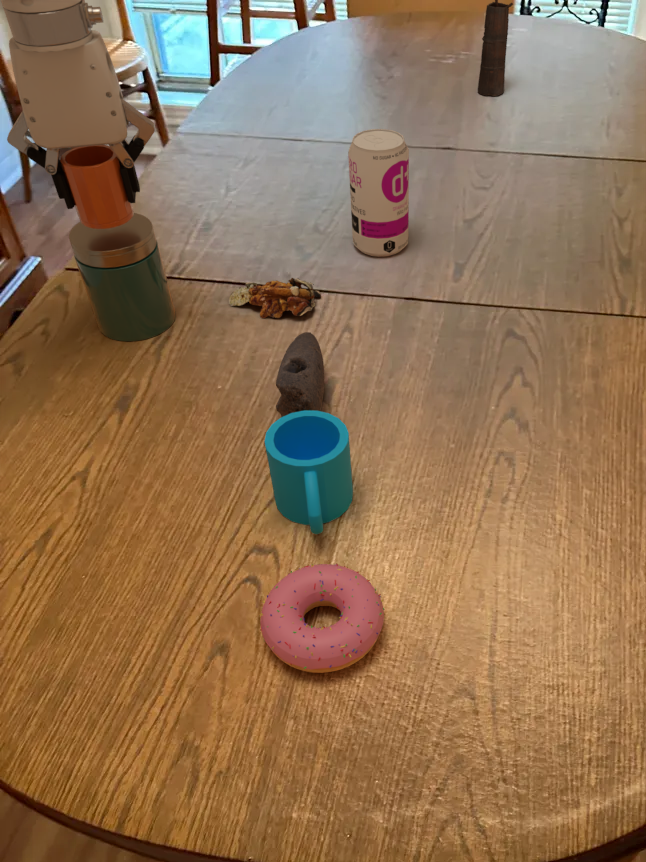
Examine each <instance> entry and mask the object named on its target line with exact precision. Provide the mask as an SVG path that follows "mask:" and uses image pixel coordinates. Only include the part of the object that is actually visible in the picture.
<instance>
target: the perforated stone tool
mask: <svg viewBox="0 0 646 862" xmlns="http://www.w3.org/2000/svg"><path fill="white" fill-rule="evenodd" d="M275 386H276V388H277V390H278V391H279V394H280V397H279V399H278V401H277V403H276V405H275V409H276V411H277V412H278V413H279V414H280V416H281V417H283V416H286V415H288V414H290V413H294V412H299V411H304V410H310V411H321V412H322V406H323V400H324V393H325V364H324V357H323V353H322V350H321V346H320V343H319V341H318V339H317V337H316V336H315V335H314V334H313V333H312V332H309V331H305V332H301V333H300V334H298V335H297V336H295V338H294V340H292V341H291V343H290V344H289V345H288V347H287V349H286V351H285V353H284V355H283V356H282V359H281V362H280V364H279V367H278V371H277V376H276V380H275Z"/></svg>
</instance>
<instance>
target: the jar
mask: <svg viewBox="0 0 646 862" xmlns="http://www.w3.org/2000/svg"><path fill="white" fill-rule="evenodd" d="M73 257H74V260H75V264H76V266H77V269H78V272H79V275H80V277H81V281H82V284H83V287H84V289H85V293H86V296H87V298H88V302H89V304H90V307H91V310H92V313H93V316H94V319H95V322H96V324H97V327H98V330H99V331H100V333H101V334H102V335H103V336H105V337H106V338H108V339H111V340H114V341H120V342H139V341H144V340H149V339H151V338H154V337H157V336H158V335H161V334H162V333H165V332H166V331H167V330H168V329H169V328H170V327H172V325H173V324H174V322H175V320H176V309H175V306H174V302H173V298H172V295H171V294H172V293H171V290H170V285H169V282H168V278H167V274H166V270H165V266H164V262H163V257H162V254H161V250H160V246H159V242H158V240H157V239H156V247H155V249H154V250H153V252H152V253H151V254H149V255H148V256H147V257H145V258H144V259H142V260H140V261H137V262H135V263H132V264H129V265H125V266H120V267H112V268H100V267H92V266H88V265H86V264H83V263H81V262H80V261H79V260H78V259H77V258H76V257H75V255H74V254H73Z"/></svg>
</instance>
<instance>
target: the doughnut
mask: <svg viewBox="0 0 646 862" xmlns="http://www.w3.org/2000/svg"><path fill="white" fill-rule="evenodd" d="M370 581H371V580H370V579H367V578H366V577H365V576H364V575H362V574H361V573H360V571H356V570H354V569H351V568H349V567H346V566H345V565H343V566H342V565H339V564H338V562H336V563H335V564H331V563H319V564H313V563H311V565H305V566H303V567H301V568H300V567H298V568H296V569H295V570H294V571H292V570H290V573H288V574H287V575H285V576H284V577H283V578H281V579H280V580H279V581H278V582H277V583H275V585H274V586H273V587H272V588H271V590H270V591H269V593H268V594H267V595H266V598H265V601H264V600H262V603H263V605H262V608H261V612H260V614H259V617H260V619H259V621H260V623H259V624H260V630H259V631H261V634H262V638H263V640H264V641H265V643H266V644H267V646H268V647H269V649H270V650H271V651H272V653H273V654H274V655H275V656H276V657H277V658H278V659H279V660H280V661H281V662H283V663H284V664H286V665H288V666H290V667H291V668H294V669H297V670H300V671H302V672H307V673H316V674H321V673H322V674H323V673H331V672H336V671H340V670H343V669H347V668H348V667H350V666H352V665H354V664H356V663H357V662H359V661H360V660H361V659H363V658H364V657H365V656H366V655H368V653H369V652H370V651H371V650H372V649H373V647H374V646H375V644H376V642H377V641H378V639H379V636H380V634H381V631H382V628H383V627H384V621H385V608H384V605H383V602H384V599H381V595H382V594H381V593H379V592H378V591H377V588H376V587H374V586H373V585H372V583H371V582H370ZM317 607H333V608H335V609H337V610H338V611H339V612H340V615H339V616H338V619H339V620H338V621H336V622H335V623H334V624H331V625H329V626H327V627H326V626H324V625H323V626H322V627H316V626H313V625H309V624H308V623H306V622H305V615H306V614H307V613H308V612H310V611H311V610H313V609H314V608H317Z"/></svg>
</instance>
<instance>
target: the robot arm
mask: <svg viewBox="0 0 646 862" xmlns="http://www.w3.org/2000/svg"><path fill="white" fill-rule="evenodd" d="M0 2H1V5H2V8H3V11H4V14H5V17H6V20H7V23H8V26H9V30H10V32H11V35H12V37H11V38H9V42H8V47H9V55H10V61H11V66H12V71H13V75H14V81H15V85H16V89H17V92H18V96H19V102H20V104H21V108H22V111H21V112H20V114H19V116H18V117H17V119H16V120H15V122H14V124H13V125H12V127H11V129H10V130H9V132H8V134H7V138H6V141H7V143H8V144H9V145H11V146H12V147H13V148H14V149H16V150H18V151H19V152H21V153H22V154H25V155H26V156H27V158H29V159H30V160H31V161H33V162H34V163H36V164H37V165H39V166H40V167H42V169H44V170H45V172H46V173H47V174H48V175H51V179H52V182H53V185H54V187H55V190H56V194H57V196H58V199H59V200H64V203H65V206H66V209H67V210H73V209H74V208H75V205H74V202H73V199H72V196H71V193H70V190H69V187H68V183H67V180H66V177H65V174H64V171H63V168H62V165H61V162H60V157H61V155H60V154H61V149H73V148H75V147H85V146H97V145H108V146H110V147H111V149H112V150H113V151H114V153H115V154H116V156H117V157H118V158H119V160H120V163H121V166H120V173H121V177H122V180H123V184H124V188H125V191H126V195H127V199H128V202H130V203H132V204H136V198H137V197H136V196H137V193H140V192H141V187H140V181H139V178H138V175H137V171H136V167H135V163H136V161H137V159H138V158H139V156H140V155H141V154H142V152H143V150H144V149H145V146H146V145H147V143H148V142H149V141H150V139H151V138H152V136H153V135H154V133H155V131H156V126H155V122H154V121H153V120H151V119H150V118H148V117H147V116H146V115H145V114H143V113H142V112H141V111H139V110H138V109H137V108H135V107H134V106H133V105H132V104H130V103H128V101H126V100H125V99H124V95H123V92H122V88H121V85H120V82H119V79H118V74H117V73H116V69H115V66H114V63H113V60H112V58H111V55H110V53H109V51H108V47H107V46H106V45H107V44H106V43H105V41H104V39H103V37H102V34H101V33H100V31H98V30H96V29H95V30H94V29H93V27H94V25H95V26H96V25H97V24H102V23H104V15H103V11H102V8H101V7H100V6H93V5H89V4H88V2H86V1H85V0H0ZM130 124H132V125H133V126H134V127H135V128H137V129H138V130H137V131H136V133H135V135H134V136H132V138H131V139H130V141H129V142H128V141H127V137H128V127H127V126H129V125H130ZM27 132H29V134H30V137H31V139H32V140H33V141H31V140H30V139H29V138H28V137H27V136H26V134H27Z"/></svg>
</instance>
